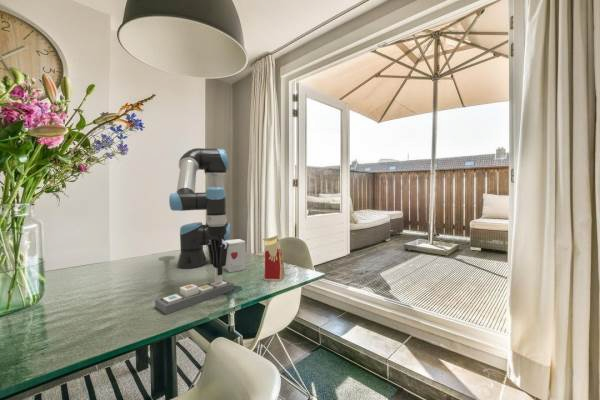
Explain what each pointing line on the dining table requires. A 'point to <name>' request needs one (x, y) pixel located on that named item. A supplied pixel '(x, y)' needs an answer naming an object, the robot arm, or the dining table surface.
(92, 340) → the dining table surface
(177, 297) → the key teal
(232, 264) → the supplement box
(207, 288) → the key ochre
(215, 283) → the key slate
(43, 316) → the dining table surface
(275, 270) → the milk carton
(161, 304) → the keypad
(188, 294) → the key rust
